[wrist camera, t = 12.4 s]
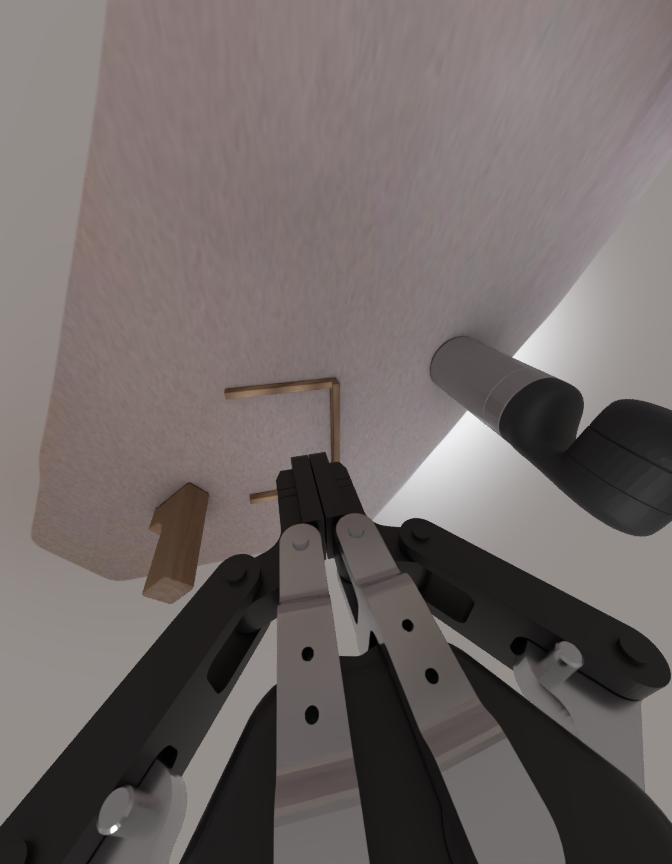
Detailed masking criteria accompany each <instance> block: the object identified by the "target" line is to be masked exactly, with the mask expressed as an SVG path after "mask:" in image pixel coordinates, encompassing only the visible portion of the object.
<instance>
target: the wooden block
mask: <svg viewBox="0 0 672 864" xmlns="http://www.w3.org/2000/svg"><path fill="white" fill-rule="evenodd" d="M208 497H209V494H208V493H206V492H204V491H203V490H201V489H199V488H197V487H196V486H194V485H192V484H191V483H188V484H187V485H185V486H184V487H183V488H182V489H181V490H179V491H178V492H177V493H176V494H174V495H173V496H172V497H171V498H170V499H168V500H167V501H166V502H165V503H164V504H162V505H161V506H160V507H159V508H157V509H156V510H155V512H154V515H153V518H152V521H151V523H150V526H149V530H150V531H152V532H155V533H157V534H159V535H160V538H159V541H158V544H157V547H156V551H155V554H154V557H153V560H152V564H151V567H150V570H149V573H148V577H147V580H146V583H145V587H144V590H143V593H142V595H143V596H145V597H148V598H152V599H155V600H158V601H162V602H165V603H168V604H172V603H174V602H175V601H177V600H178V599H180V598H181V597H182V596H184V595H185V594H186V593H188V592H189V591H190V590H192V588H193V587H194V581H195V575H196V569H197V563H198V557H199V551H200V545H201V539H202V533H203V527H204V521H205V515H206V509H207V503H208Z"/></svg>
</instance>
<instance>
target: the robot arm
mask: <svg viewBox="0 0 672 864" xmlns="http://www.w3.org/2000/svg"><path fill="white" fill-rule="evenodd" d="M430 372H431V377H432V380H433V382H434V383H435V384H436V385H437V386H438V387H440V388H441V389H442V390H443V391H445V392H446V393H447V394H448V395H449V396H451V397H452V398H453V399H454V400H456V401H457V402H458V403H459V404H461V405H462V406H463V407H464V408H466V409H467V410H468V411H469V412H471V413H472V414H473V415H475V416H476V417H477V418H478V419H479V420H481V421H482V422H483V423H485V424H486V425H487V426H488V427H490V428H491V429H492V430H493V431H495V432H496V433H497V434H498V435H500V436H501V437H502V438H503V439H505V440H506V441H507V442H508V443H510V444H511V445H512V446H513V447H514V448H515V450H517V451H518V452H519V453H520V454H521V455H522V456H524V457H525V458H526V459H527V460H528V461H530V462H531V463H532V464H533V465H534V466H535V467H537V468H538V469H539V470H540V471H541V472H542V473H543V474H544V475H545V476H546V477H547V478H549V479H550V480H551V481H552V482H553V483H554V484H555V485H556V486H557V487H558V488H559V489H560V490H562V491H563V492H564V493H565V494H566V495H567V496H568V497H570V498H571V499H572V500H573V501H574V502H576V503H577V504H578V505H579V506H580V507H582V508H583V509H584V510H585V511H587V512H588V513H590V514H591V515H592V516H594V517H595V518H597V519H598V520H600V521H602V522H603V523H605V524H606V525H608V526H610V527H612V528H614V529H616V530H619V531H621V532H624V533H626V534H629V535H634V536H649V535H652V534H654V533H656V532H657V531H659V530H660V529H662V528H663V527H665V526H666V525H667V524H668V523H669V522H671V521H672V410H669V409H667V408H664V407H661V406H658V405H655V404H652V403H649V402H644V401H639V400H634V399H622V400H617V401H615V402H613V403H611V404H610V405H609V406H607V407H606V408H605V409H604V410H603V411H602V412H601V413H600V414H599V415H598V416H597V417H596V418H595V419H594V420H593V421H592V423H591V424H590V426H588V427H587V428H586V429H585V430H584V431H583V432H582V433H581V435H580V436H579V437H578V438H577V439H576V434H577V430H578V426H579V423H580V420H581V417H582V414H583V409H584V402H583V397H582V395H581V393H580V391H579V390H578V389H576V388H575V387H574V386H572V385H571V384H569V383H567V382H565V381H562V380H560V379H558V378H556V377H554V376H551V375H549V374H547V373H545V372H543V371H541V370H538V369H536V368H534V367H532V366H529V365H527V364H525V363H523V362H521V361H519V360H516V359H514V358H512V357H510V356H508V355H506V354H503V353H501V352H499V351H497V350H495V349H493V348H490V347H488V346H486V345H484V344H482V343H480V342H477V341H475V340H473V339H471V338H468V337H458V338H454V339H452V340H450V341H448V342H447V343H446V344H444V345H443V346H442V347H441V348H440V349H439V350H438V352H437V353H436V355H435V356H434V358H433V361H432V364H431V371H430ZM291 464H292V469H291V470H284V471H280V473H279V475H278V477H277V479H276V485H277V494H278V504H279V514H280V524H281V535H280V537H279V540H278V541H277V543H276V544H275V545H274V546H273V547H272V548H271V549H270V550H268V551H267V552H265V553H263V554H261V555H259V556H258V557H255V558H254V557H252V556H250V555H247V554H238V555H234V556H232V557H229V558H228V559H226V560H225V561H224V562H222V563H221V564H220V565H219V566H218V568H217V569H216V570H215V571H214V572H213V574H212V575H211V576H210V577H209V578H208V580H207V581H206V582H205V583H204V584H203V586H202V587H201V588H200V589H199V590H198V591H197V593H196V594H195V595H194V596H193V597H192V599H191V600H190V601H189V602H188V603H187V605H186V606H185V607H184V608H183V610H182V611H181V612H180V613H179V614H178V616H177V617H176V618H175V619H174V620H173V621H172V622H171V624H170V625H169V626H168V627H167V629H166V630H165V631H164V632H163V633H162V634H161V636H160V637H159V638H158V639H157V640H156V642H155V643H154V644H153V645H152V646H151V648H150V649H149V650H148V651H147V652H146V654H145V655H144V656H143V657H142V658H141V660H140V661H139V662H138V663H137V664H136V665H135V667H134V668H133V669H132V670H131V672H130V673H129V674H128V675H127V676H126V677H125V679H124V680H123V681H122V682H121V683H120V685H119V686H118V687H117V688H116V689H115V690H114V692H113V693H112V694H111V695H110V696H109V698H108V699H107V700H106V701H105V702H104V704H103V705H102V706H101V707H100V708H99V710H98V711H97V712H96V713H95V714H94V716H93V717H92V718H91V719H90V720H89V722H88V723H87V724H86V725H85V726H84V728H83V729H82V730H81V731H80V732H79V733H78V735H77V736H76V737H75V738H74V740H73V741H72V742H71V743H70V744H69V745H68V747H67V748H66V749H65V750H64V751H63V753H62V754H61V755H60V756H59V757H58V759H57V760H56V761H55V762H54V763H53V764H52V766H51V767H50V768H49V769H48V770H47V772H46V773H45V774H44V775H43V776H42V778H41V779H40V780H39V781H38V782H37V784H36V785H35V786H34V787H33V788H32V790H31V791H30V792H29V793H28V794H27V795H26V797H25V798H24V799H23V800H22V801H21V803H20V804H19V805H18V806H17V808H16V809H15V810H14V811H13V812H12V813H11V815H10V816H9V817H8V818H7V819H6V821H5V822H4V823H3V824H2V825H1V826H0V864H168V863H169V858H170V855H171V852H172V849H173V846H174V844H175V842H176V839H177V837H178V834H179V832H180V830H181V827H182V824H183V821H184V818H185V813H186V807H187V792H186V786H185V783H184V781H183V779H182V775H183V773H184V771H185V770H186V768H187V766H188V765H189V763H190V761H191V759H192V757H193V756H194V754H195V752H196V751H197V749H198V747H199V746H200V744H201V742H202V740H203V738H204V737H205V735H206V734H207V732H208V730H209V728H210V727H211V725H212V723H213V721H214V720H215V718H216V716H217V715H218V713H219V711H220V710H221V708H222V706H223V704H224V703H225V701H226V699H227V698H228V696H229V694H230V692H231V691H232V689H233V687H234V685H235V684H236V682H237V680H238V679H239V677H240V675H241V674H242V672H243V670H244V668H245V667H246V665H247V663H248V661H249V660H250V658H251V656H252V654H253V653H254V651H255V649H256V648H257V646H258V644H259V642H260V641H261V639H262V637H263V636H264V634H265V632H266V630H267V629H268V627H269V625H270V623H271V621H273V620H274V619H276V618H277V684H276V685H275V686H273V687H272V688H271V689H270V690H269V691H268V692H267V694H266V695H265V696H264V697H263V698H262V700H261V701H260V702H259V704H258V705H257V706H256V708H255V709H254V711H253V713H252V714H251V716H250V718H249V720H248V722H247V724H246V726H245V728H244V730H243V732H242V734H241V736H240V738H239V740H238V742H237V744H236V746H235V748H234V751H233V753H232V755H231V757H230V759H229V761H228V763H227V765H226V767H225V769H224V771H223V774H222V776H221V778H220V780H219V782H218V784H217V786H216V788H215V790H214V792H213V794H212V796H211V799H210V801H209V803H208V805H207V807H206V809H205V811H204V813H203V815H202V817H201V819H200V821H199V823H198V826H197V828H196V830H195V832H194V834H193V836H192V838H191V840H190V842H189V844H188V846H187V848H186V851H185V853H184V855H183V857H182V859H181V861H180V863H179V864H672V823H671V822H670V821H669V820H668V818H667V817H666V815H665V814H664V813H663V812H662V810H661V809H660V808H659V807H658V806H657V805H656V804H655V803H654V801H653V800H652V799H651V798H650V797H649V796H648V795H647V794H646V793H645V783H644V762H643V741H642V722H641V721H642V720H641V701H642V700H643V699H644V698H646V697H647V696H649V695H651V694H653V693H654V692H656V691H658V690H660V689H661V688H663V687H665V686H666V685H667V684H668V683H669V681H670V678H671V673H670V668H669V665H668V663H667V661H666V660H665V658H664V656H663V655H662V653H661V652H660V651H659V649H658V648H657V647H656V646H655V645H654V644H653V643H652V642H651V641H650V640H649V639H648V638H647V637H645V636H644V635H643V634H641V633H640V632H638V631H637V630H635V629H634V628H632V627H630V626H628V625H626V624H624V623H622V622H621V621H619V620H617V619H615V618H613V617H611V616H609V615H607V614H605V613H603V612H601V611H599V610H597V609H596V608H594V607H592V606H590V605H588V604H586V603H584V602H582V601H580V600H578V599H576V598H575V597H573V596H571V595H569V594H567V593H565V592H563V591H561V590H559V589H557V588H556V587H554V586H552V585H550V584H548V583H546V582H544V581H542V580H540V579H538V578H536V577H534V576H533V575H531V574H529V573H527V572H525V571H523V570H521V569H519V568H517V567H515V566H513V565H512V564H509V563H508V562H506V561H504V560H502V559H500V558H498V557H496V556H494V555H492V554H491V553H488V552H487V551H485V550H483V549H481V548H479V547H477V546H475V545H473V544H471V543H469V542H467V541H466V540H464V539H462V538H460V537H458V536H456V535H454V534H452V533H450V532H448V531H447V530H445V529H443V528H441V527H439V526H437V525H435V524H433V523H431V522H429V521H427V520H424V519H419V518H413V519H409V520H407V521H405V522H404V523H403V524H402V526H401V527H391V526H383V525H379V524H376V523H375V522H373V521H372V520H371V519H370V518H369V517H367V516H366V514H365V512H364V510H363V508H362V505H361V503H360V500H359V498H358V495H357V493H356V490H355V488H354V486H353V483H352V481H351V479H350V476H349V473H348V471H347V469H346V468H345V467H344V466H343V465H342V464H341V463H340V462H333V463H329V461H328V458H327V455H326V453H325V452H322V453H315V454H309V455H303V456H296V457H291ZM326 553H327V557H328V559H330V558H334V559H335V562H336V566H337V577H338V581H339V584H340V587H341V590H342V593H343V596H344V599H345V602H346V604H347V608H348V611H349V614H350V617H351V620H352V622H353V626H354V629H355V632H356V638H357V643H358V648H359V651H360V656H339V654H338V647H337V641H336V633H335V626H334V619H333V613H332V605H331V600H330V595H329V591H328V584H327V577H326V570H325V564H324V563H325V562H324V560H326ZM432 615H434V616H435V617H437V618H438V619H439V620H441V621H442V622H444V623H445V624H447V625H448V626H450V627H451V628H452V629H454V630H455V631H457V632H458V633H460V634H461V635H463V636H464V637H465V638H467V639H468V640H470V641H471V642H473V643H474V644H476V645H477V646H478V647H480V648H481V649H483V650H484V651H486V652H487V653H489V654H490V655H491V656H493V657H494V658H496V659H497V660H499V661H500V662H502V663H503V664H504V665H506V666H507V667H509V668H510V669H512V670H513V671H514V676H515V678H516V681H517V683H518V686H519V687H520V689H521V692H522V694H523V695H524V696H525V697H526V698H524V697H523V696H522V695H520V694H519V693H518V692H517V691H515V690H514V689H513V688H511V687H510V686H509V685H507V684H506V683H505V682H503V681H502V680H501V679H500V678H498V677H497V676H496V675H494V674H493V673H492V672H490V671H489V670H488V669H486V668H485V667H484V666H483V665H481V664H480V663H479V662H477V661H476V660H475V659H473V658H472V657H471V656H469V655H468V654H467V653H465V652H464V651H462V650H461V649H459V648H458V647H456V646H454V645H452V644H450V643H448V642H447V641H446V639H445V637H444V636H443V634H442V632H441V630H440V628H439V627H438V625H437V623H436V621H435V619H434V618H433V616H432ZM527 699H528V700H529V701H528V700H527ZM531 702H532V703H533V704H532V703H531Z"/></svg>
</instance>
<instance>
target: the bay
mask: <svg viewBox="0 0 672 864" xmlns="http://www.w3.org/2000/svg"><path fill="white" fill-rule="evenodd" d="M328 388H330V411H331V463H333V462H340V384H339V382H338V380H337V379H336V378H329V379H319V380H309V381H299V382H289V383H280V384H270V385H260V386H250V387H240V388H230V389H225V393H224V394H225V398H226V399H235V398H244V397H254V396H263V395H272V394H281V393H291V392H300V391H309V390H319V389H328ZM276 499H278V494H277V490H273V491H268V492H262V493H256V494H250V503H251V504H253V503H259V502H265V501H270V500H276Z"/></svg>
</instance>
